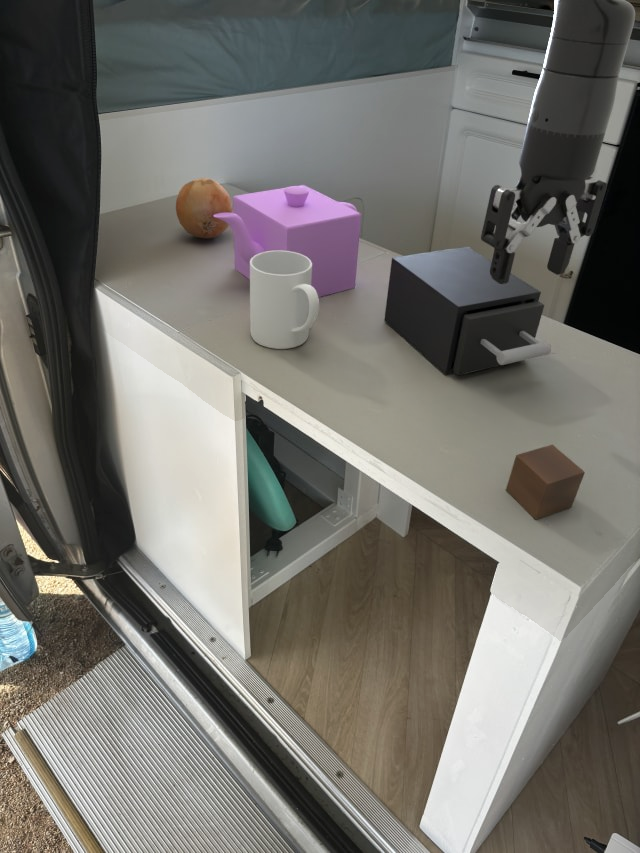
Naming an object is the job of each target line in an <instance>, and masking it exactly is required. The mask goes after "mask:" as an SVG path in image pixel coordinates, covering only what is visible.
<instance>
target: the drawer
mask: <svg viewBox="0 0 640 853" xmlns="http://www.w3.org/2000/svg"><path fill="white" fill-rule="evenodd" d="M525 303H526V300H524V301H518V302H513V303H507V304H502V305H497V306H491V307H486V308H481V309H475V310H470V311H465V312H463V313H462V318H461V323H460V327H459V332H458V337H457V342H456V347H455V352H454V357H453V362H454V367H453V371H454V372H455V373H454V374H456V375H457V376H461V375H465V374H469V373H473V372H478V371H482V370H486V369H491V368H495V367H500V366H504V365H509V364H512V363H517V362H521V361H526V360H531V359H535V358H539V357H543V356H548V355H549V354H551V353H552V345H551V343H550V342H548V341H542V342H541V341H539V340H538V339H536V337H537V333H538V329H539V326H540V323H541V319H542V315H543V312H544V308H545V304H544V303H542V302H540V301H536V302H531V303H526V304H525Z"/></svg>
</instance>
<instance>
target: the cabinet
mask: <svg viewBox="0 0 640 853" xmlns="http://www.w3.org/2000/svg"><path fill="white" fill-rule="evenodd" d="M491 263H492V260H490V259H488V258H487V257H485V256H484V255H482V254H480V253H479V252H477V251H476V250H475V249H472V248H471V247H469V246H464V247H457V248H449V249H444V250H443V249H442V250H436V251H428V252H421V253H420V252H419V253H414V254H413V253H412V254H408V255H407V254H406V255H401V256H400V255H399V256H392V257H391V264H390V270H389V271H390V272H389V279H388V288H387V295H386V303H385V311H384V319H383V320H384V322H385V323H386V324H387V325H388V326H389V327H390V328H392V330H394V331H395V332H396V333H397V334H398V335H399V336H400V337H401V338H403V339H404V340H405V341H406V343H408V344H409V345H410V346H412V347H413V348H414V349H415V350H416V351H417V352H419V353H420V355H422V356H423V357H424V358H425V359H426V360H427V361H428V362H429V363H431V365H433V366H434V367H435V368H436V369H437V370H438V371H439V372H440V373H442V374H443V376H448V375H453V374H456V373H455V372H454V371H453V367H454V362H453V357H454V352H455V347H456V342H457V337H458V332H459V327H460V323H461V318H462V313H463V312H465V311H470V310H475V309H481V308H486V307H491V306H497V305H502V304H507V303H513V302H518V301H524V300H526V303H531V302H536V301H539V300H540V298H541V293H542V291H540V290H539V289H537V288H536V287H534V286H532V285H531V284H529V283H528V282H526V281H525V280H523V279H521V278H520V277H518V276H516V275H515V274H513V273H512V272H511V273H510V277H509V281H508V283H505V284H499V283H498V282H496V281H495V280H493V279H492V276H491V275H490V267H491ZM539 302H540V301H539ZM526 303H525V304H526Z"/></svg>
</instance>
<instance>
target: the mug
mask: <svg viewBox="0 0 640 853" xmlns="http://www.w3.org/2000/svg"><path fill="white" fill-rule="evenodd" d="M311 277H312V262H311V260H310V259H309V258H308V257H306V256H304V255H302V254H299V253H296V252H291V251H282V250H278V251H266V252H262V253H259V254H257V255H255V256H254V257H252V258H251V260H250V280H249V309H250V310H249V312H250V313H249V316H250V317H249V318H250V320H249V322H250V336H251V339H253V341H254V343H257V344H258V345H260V346H262V347H265V348H269V349H273V350H274V349H275V350H287V349H292V348H293V349H294V348H297V347H299V346H301V345H302V344H304V343H306V342H307V340H308V339H309V335H310V328H312V327H313V325H314V324H315V323H316V321H317V319H318V315H319V311H320V297H318V294H317V292H316V290H315V289H314V287H312V286H311Z"/></svg>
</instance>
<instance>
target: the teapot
mask: <svg viewBox="0 0 640 853" xmlns="http://www.w3.org/2000/svg"><path fill="white" fill-rule="evenodd" d="M232 207H233V212H232V213H219V214H215V215H214V217H216V218H219V219H221V220H223V221H225V222H226V223H227V224H229V226H228V227H229V228H230V229H231V231H232V234H233V250H234V251H233V252H234V269H235V270H236V271H237V272H238V273H240V274H241V275H243V276H244V277H245V278H246V279H248V280H249V281H250V260H251V258H252V257H254V256H255V255H257V254H259V253H262V252H266V251H278V250H282V251H291V252H296V253H299V254H302V255H304V256H306V257H308V258H309V259H310V260H311V262H312V277H311V286H312V287H314V289H315V290H316V292H317V294H318V298H321V297H325V296H330V295H333V294H336V293H340V292H343V291H348V290H352V289H354V288H356V280H357V270H358V269H357V267H358V257H359V245H360V236H361V225H362V214H361V213H360V212H359V211H357V210H358V209H357V208H356V206H355V205H354V204H352V203H349V202H346V201H345V202H344V201H337V200H335V199H333V198H331V197H329V196H327V195H325V194H323V193H322V192H319V191H317V190H315V189H313V188H312V187H309V186H307V185H305V184H300V185H292V186H291V185H290V186H287V187H282V188H275V189H269V190H263V191H256V192H250V193H244V194H243V193H242V194H238V195H237V194H236V195H233V197H232Z"/></svg>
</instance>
